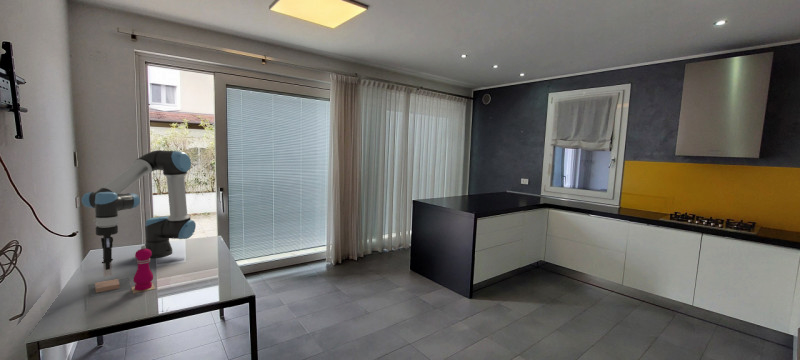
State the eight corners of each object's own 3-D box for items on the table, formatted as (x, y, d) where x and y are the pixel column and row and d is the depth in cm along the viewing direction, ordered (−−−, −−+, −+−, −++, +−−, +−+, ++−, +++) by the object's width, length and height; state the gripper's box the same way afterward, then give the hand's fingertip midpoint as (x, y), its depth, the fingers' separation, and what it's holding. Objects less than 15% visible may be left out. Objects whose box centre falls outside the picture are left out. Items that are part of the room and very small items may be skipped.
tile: (118, 278, 153) (119, 284, 148) (118, 283, 154) (119, 288, 148) (95, 282, 148) (95, 288, 142) (95, 287, 148) (95, 293, 142)
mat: (127, 278, 160) (127, 278, 160) (131, 289, 148) (131, 289, 148) (88, 285, 150) (88, 284, 150) (89, 297, 138) (89, 297, 138)
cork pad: (152, 284, 155) (152, 283, 155) (155, 289, 149) (155, 288, 149) (131, 288, 149) (131, 287, 149) (133, 294, 144) (133, 292, 144)
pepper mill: (129, 288, 147) (129, 246, 146) (147, 283, 154) (147, 242, 153) (139, 292, 145) (139, 248, 143) (156, 286, 151) (156, 245, 150)
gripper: (94, 224, 149) (95, 273, 151) (96, 229, 140) (97, 281, 142) (116, 222, 154) (117, 269, 156) (119, 227, 145) (119, 277, 147)
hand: (107, 275), depth 149 cm, fingers closed
